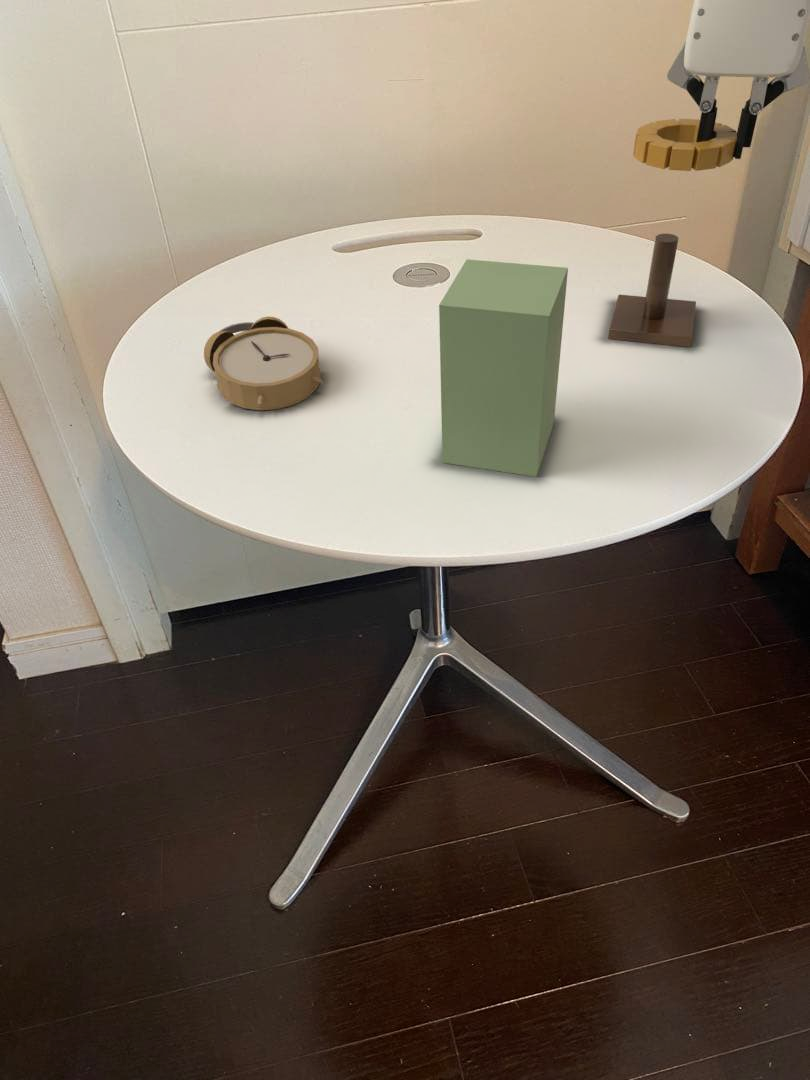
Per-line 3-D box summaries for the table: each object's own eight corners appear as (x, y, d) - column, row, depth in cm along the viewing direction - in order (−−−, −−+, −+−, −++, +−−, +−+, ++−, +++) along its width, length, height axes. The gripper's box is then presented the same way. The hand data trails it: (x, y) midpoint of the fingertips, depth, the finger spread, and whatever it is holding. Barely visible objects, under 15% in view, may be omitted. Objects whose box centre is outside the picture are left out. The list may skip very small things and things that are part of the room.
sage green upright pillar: (554, 422, 80) (568, 267, 69) (536, 477, 74) (549, 315, 63) (466, 411, 82) (466, 259, 72) (442, 462, 76) (438, 304, 65)
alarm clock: (241, 401, 80) (181, 320, 88) (246, 436, 84) (188, 357, 92) (339, 365, 85) (273, 292, 92) (339, 401, 88) (277, 327, 96)
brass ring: (734, 141, 84) (738, 120, 82) (731, 173, 77) (736, 151, 76) (638, 137, 86) (641, 117, 85) (628, 168, 79) (631, 146, 78)
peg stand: (694, 310, 96) (712, 224, 89) (690, 347, 90) (708, 258, 83) (617, 303, 98) (628, 219, 91) (607, 338, 92) (619, 251, 85)
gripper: (869, -86, 68) (806, 145, 81) (672, -82, 72) (641, 138, 85) (878, -74, 63) (809, 171, 76) (665, -70, 67) (634, 162, 80)
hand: (721, 152), depth 80 cm, fingers closed on brass ring, 2 cm apart
